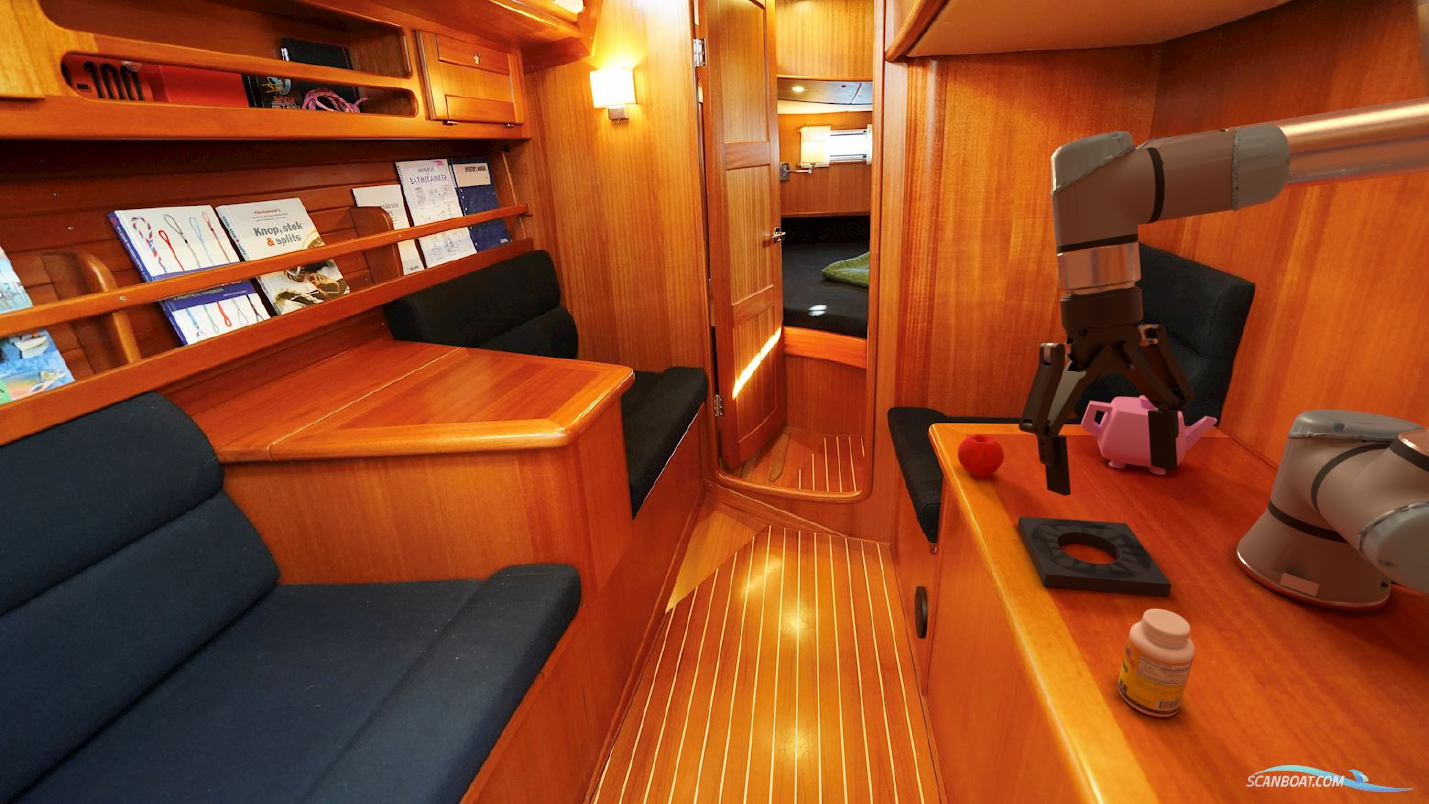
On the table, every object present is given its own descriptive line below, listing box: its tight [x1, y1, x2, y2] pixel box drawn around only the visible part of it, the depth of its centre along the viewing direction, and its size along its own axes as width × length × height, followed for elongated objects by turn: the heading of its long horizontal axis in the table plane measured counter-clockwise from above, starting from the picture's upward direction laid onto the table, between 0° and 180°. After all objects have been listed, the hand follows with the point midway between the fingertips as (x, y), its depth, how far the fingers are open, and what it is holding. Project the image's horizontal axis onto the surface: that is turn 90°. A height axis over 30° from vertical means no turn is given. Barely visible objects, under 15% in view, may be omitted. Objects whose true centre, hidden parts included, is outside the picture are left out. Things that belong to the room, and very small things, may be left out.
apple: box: [957, 433, 1005, 478], centre depth 115 cm, size 8×8×7 cm
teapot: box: [1080, 394, 1218, 476], centre depth 116 cm, size 20×12×13 cm, turn 62°
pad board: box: [1017, 515, 1172, 598], centre depth 91 cm, size 15×15×2 cm
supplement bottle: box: [1117, 608, 1196, 718], centre depth 66 cm, size 6×6×10 cm
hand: (1112, 480), depth 71 cm, fingers open, 13 cm apart
